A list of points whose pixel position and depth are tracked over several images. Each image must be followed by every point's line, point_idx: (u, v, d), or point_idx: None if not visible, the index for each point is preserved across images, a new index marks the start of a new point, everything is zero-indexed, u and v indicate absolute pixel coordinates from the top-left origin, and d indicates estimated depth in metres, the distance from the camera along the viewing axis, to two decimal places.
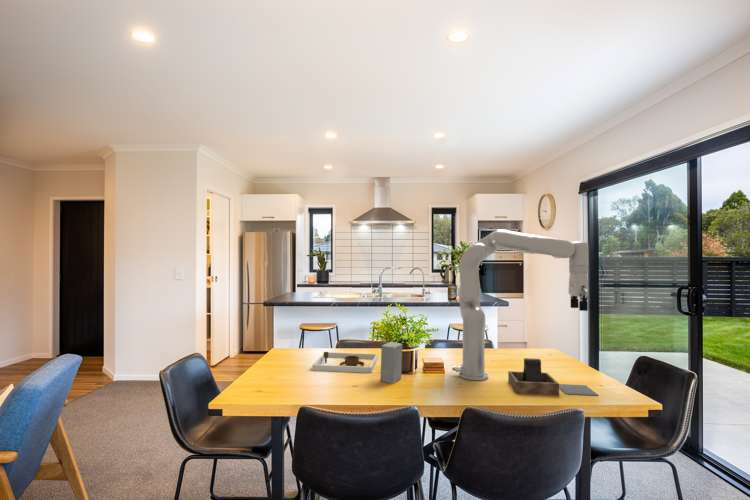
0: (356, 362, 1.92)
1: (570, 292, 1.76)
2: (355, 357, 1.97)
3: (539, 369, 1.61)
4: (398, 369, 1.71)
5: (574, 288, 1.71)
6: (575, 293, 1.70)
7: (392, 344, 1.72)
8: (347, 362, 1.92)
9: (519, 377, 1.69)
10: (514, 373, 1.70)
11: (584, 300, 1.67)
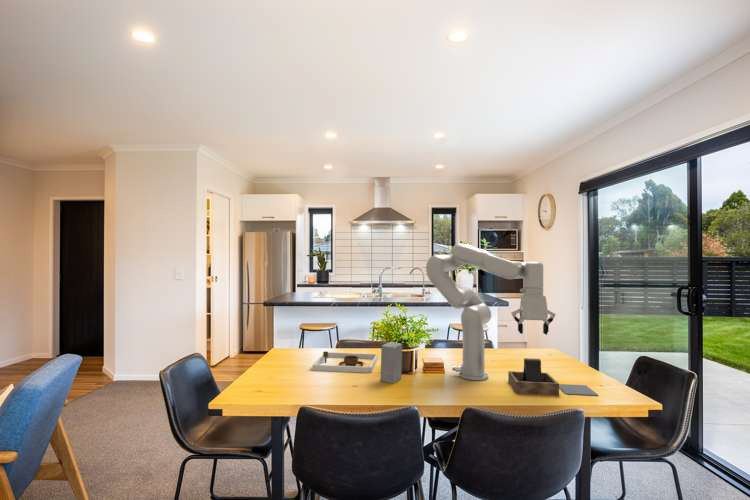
0: (355, 362, 1.92)
1: (530, 317, 1.61)
2: (354, 357, 1.97)
3: (539, 369, 1.61)
4: (398, 369, 1.71)
5: (541, 312, 1.60)
6: (544, 317, 1.60)
7: (392, 344, 1.72)
8: (346, 362, 1.92)
9: (519, 377, 1.69)
10: (514, 373, 1.70)
11: None
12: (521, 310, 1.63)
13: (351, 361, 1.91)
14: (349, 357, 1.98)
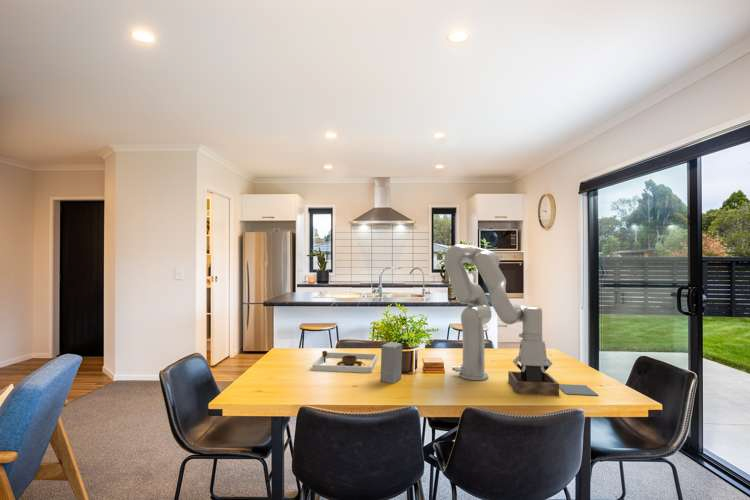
0: (353, 362, 1.92)
1: (529, 363, 1.60)
2: (353, 357, 1.97)
3: (539, 369, 1.61)
4: (398, 369, 1.71)
5: (541, 358, 1.60)
6: (543, 363, 1.60)
7: (392, 344, 1.72)
8: (344, 362, 1.92)
9: (519, 377, 1.69)
10: (514, 373, 1.70)
11: None
12: (520, 356, 1.62)
13: (349, 361, 1.91)
14: (348, 357, 1.98)
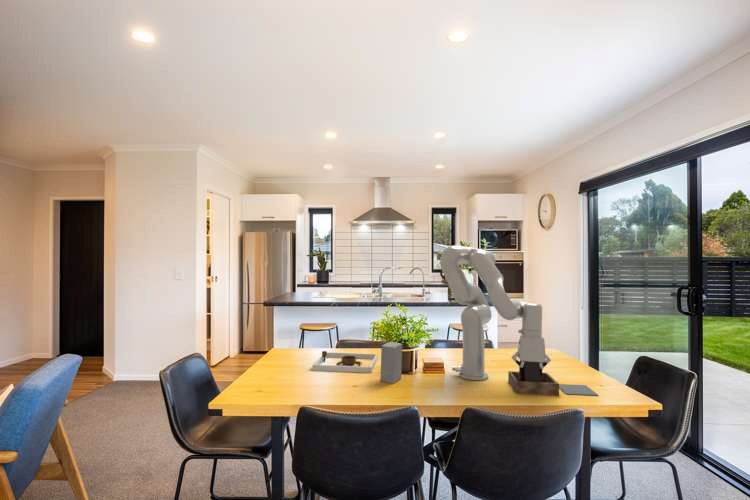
0: (352, 362, 1.92)
1: (528, 359, 1.61)
2: (352, 357, 1.97)
3: (537, 365, 1.61)
4: (398, 369, 1.71)
5: (539, 354, 1.60)
6: (542, 359, 1.60)
7: (392, 344, 1.72)
8: (343, 362, 1.92)
9: (519, 377, 1.69)
10: (514, 373, 1.70)
11: None
12: (519, 351, 1.62)
13: (348, 361, 1.91)
14: (347, 357, 1.98)
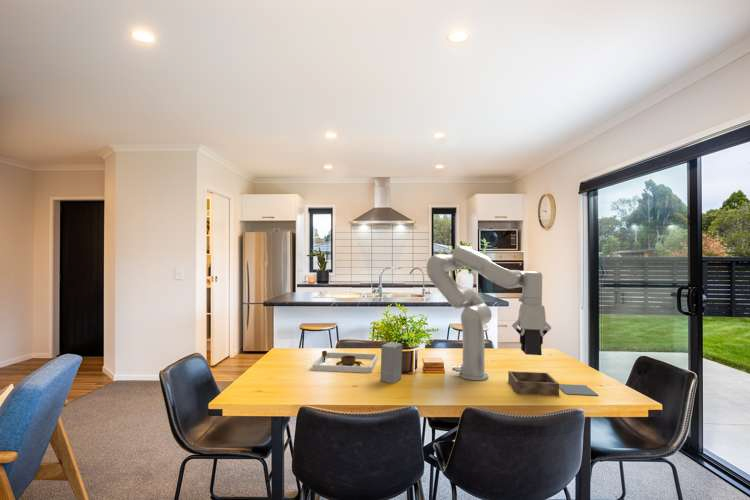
0: (352, 362, 1.92)
1: (528, 326, 1.61)
2: (352, 357, 1.97)
3: (538, 333, 1.61)
4: (398, 369, 1.71)
5: (540, 322, 1.60)
6: (542, 327, 1.60)
7: (392, 344, 1.72)
8: (343, 362, 1.92)
9: (519, 377, 1.69)
10: (514, 373, 1.70)
11: None
12: (519, 319, 1.62)
13: (348, 361, 1.91)
14: (347, 357, 1.98)
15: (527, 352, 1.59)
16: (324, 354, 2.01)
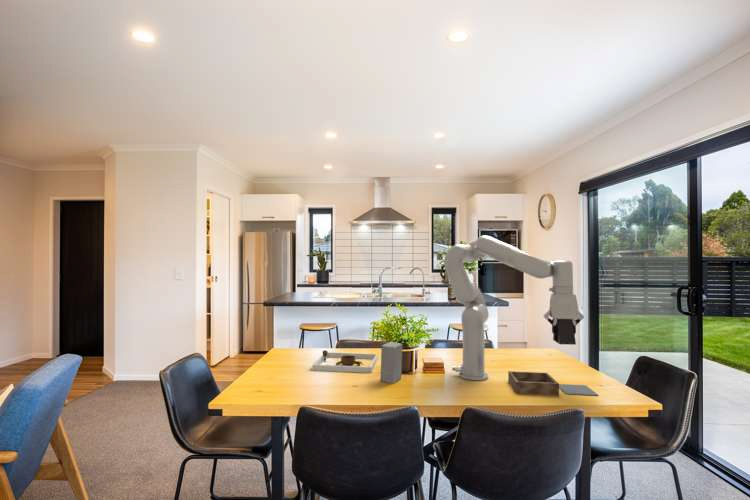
0: (351, 362, 1.92)
1: (561, 316, 1.59)
2: (352, 357, 1.97)
3: (571, 322, 1.60)
4: (398, 369, 1.71)
5: (572, 311, 1.59)
6: (575, 316, 1.58)
7: (392, 344, 1.72)
8: (342, 361, 1.93)
9: (519, 377, 1.69)
10: (514, 373, 1.70)
11: None
12: (551, 309, 1.61)
13: (347, 361, 1.92)
14: (347, 357, 1.98)
15: (561, 342, 1.57)
16: (325, 354, 2.02)
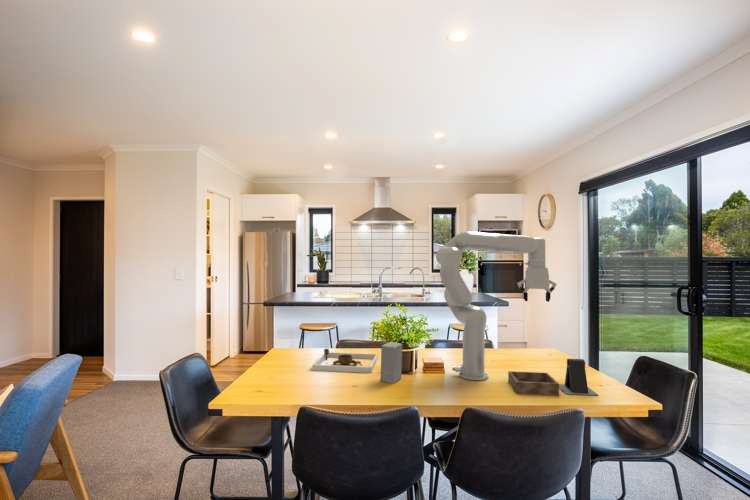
0: (347, 361, 1.93)
1: (534, 286, 1.83)
2: (350, 356, 1.98)
3: (583, 370, 1.59)
4: (398, 369, 1.71)
5: (544, 281, 1.82)
6: (546, 286, 1.82)
7: (392, 344, 1.72)
8: (339, 360, 1.94)
9: (519, 377, 1.69)
10: (514, 373, 1.70)
11: None
12: (526, 280, 1.85)
13: (343, 360, 1.93)
14: (345, 356, 1.99)
15: (573, 390, 1.57)
16: (326, 352, 2.05)
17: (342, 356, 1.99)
